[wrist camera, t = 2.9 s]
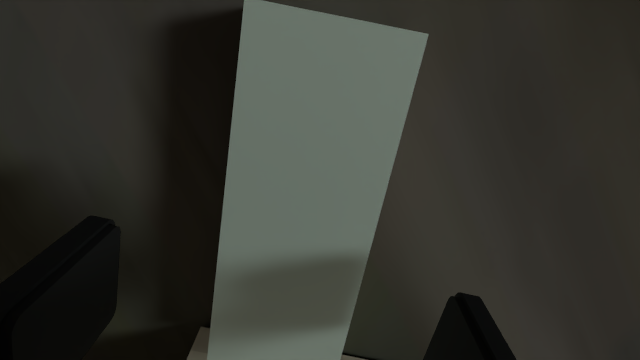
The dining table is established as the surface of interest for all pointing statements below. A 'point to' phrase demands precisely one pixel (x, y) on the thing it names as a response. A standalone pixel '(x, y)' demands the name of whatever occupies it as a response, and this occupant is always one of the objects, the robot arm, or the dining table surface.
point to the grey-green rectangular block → (305, 177)
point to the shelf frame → (200, 346)
